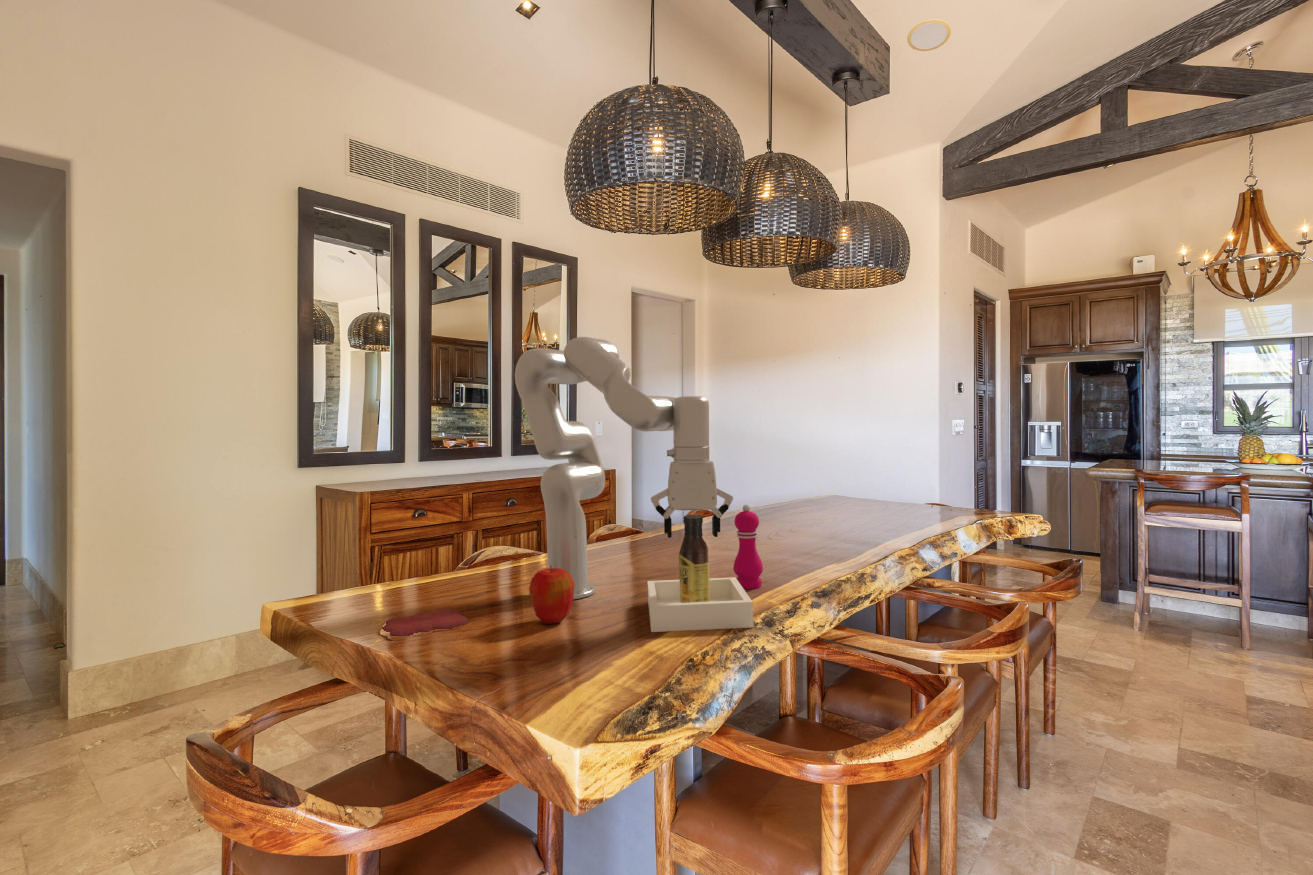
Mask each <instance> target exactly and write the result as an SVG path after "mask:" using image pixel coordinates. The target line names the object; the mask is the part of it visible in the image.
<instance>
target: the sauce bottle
mask: <svg viewBox="0 0 1313 875" xmlns="http://www.w3.org/2000/svg"><path fill="white" fill-rule="evenodd" d="M703 518H704V517H703V515H701V514H686V515H684V516H683V524H684V525H683V526H684V535H683V540H682V542H681V545H680V549H679V552H678V561H679V562H678V565H679V568H678V570H679V580H680V601H681V603H690V602H710V596H709V578H710V561H709V548H708V545H707V542H706V541H705V540H704V538H703V523H704V519H703Z"/></svg>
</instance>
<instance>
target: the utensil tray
mask: <svg viewBox="0 0 1313 875" xmlns="http://www.w3.org/2000/svg"><path fill="white" fill-rule="evenodd" d="M736 578H737V576H736V577H735V576H733V577H711V578H710V577H709V596H710V602H690V603H681V601H680V579H669V580H668V579H667V580H666V579H664V580H661V579H660V580H647V602H648V615H649V624H650V632H651V633H657V632H659V633H660V632H662V633H663V632H679V631H681V632H682V631H683V632H684V631H706V630H708V631H709V630H725V629H726V630H729V629H747V628H754V604H753V603H754V602H753V600H752V599H751V597H750V595H748V593H747V592H746V589H743V587H742V586H741V585H740V583H739V582H738V580H737V579H736Z"/></svg>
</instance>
